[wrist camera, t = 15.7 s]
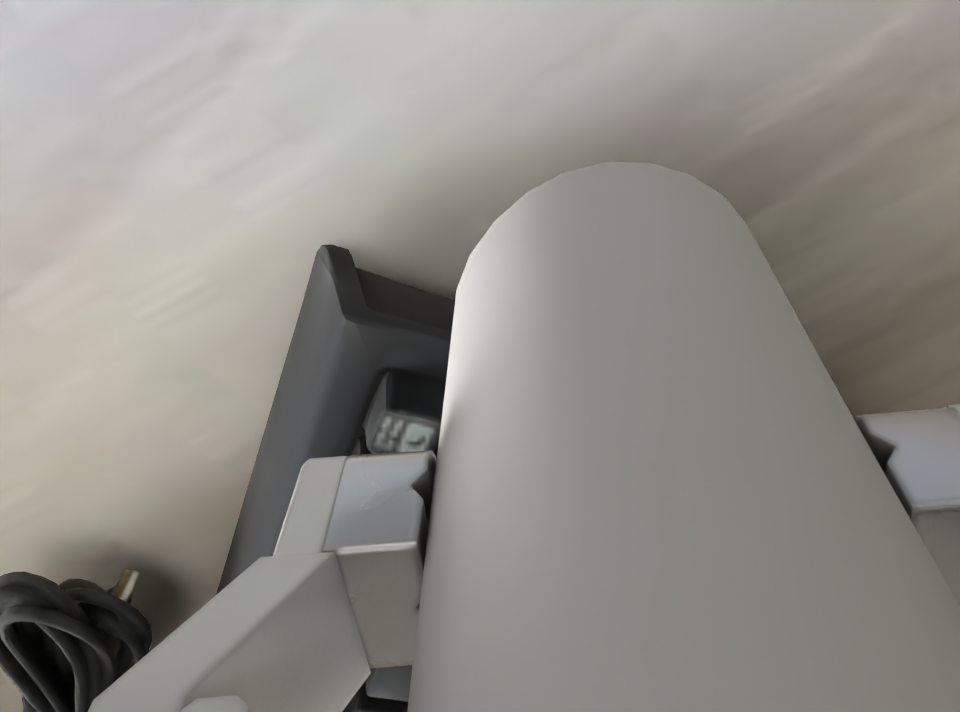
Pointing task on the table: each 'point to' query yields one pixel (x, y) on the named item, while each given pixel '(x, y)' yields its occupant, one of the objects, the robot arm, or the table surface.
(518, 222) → the beverage can
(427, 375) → the keyboard
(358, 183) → the table surface
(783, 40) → the table surface
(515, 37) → the table surface
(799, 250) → the table surface
